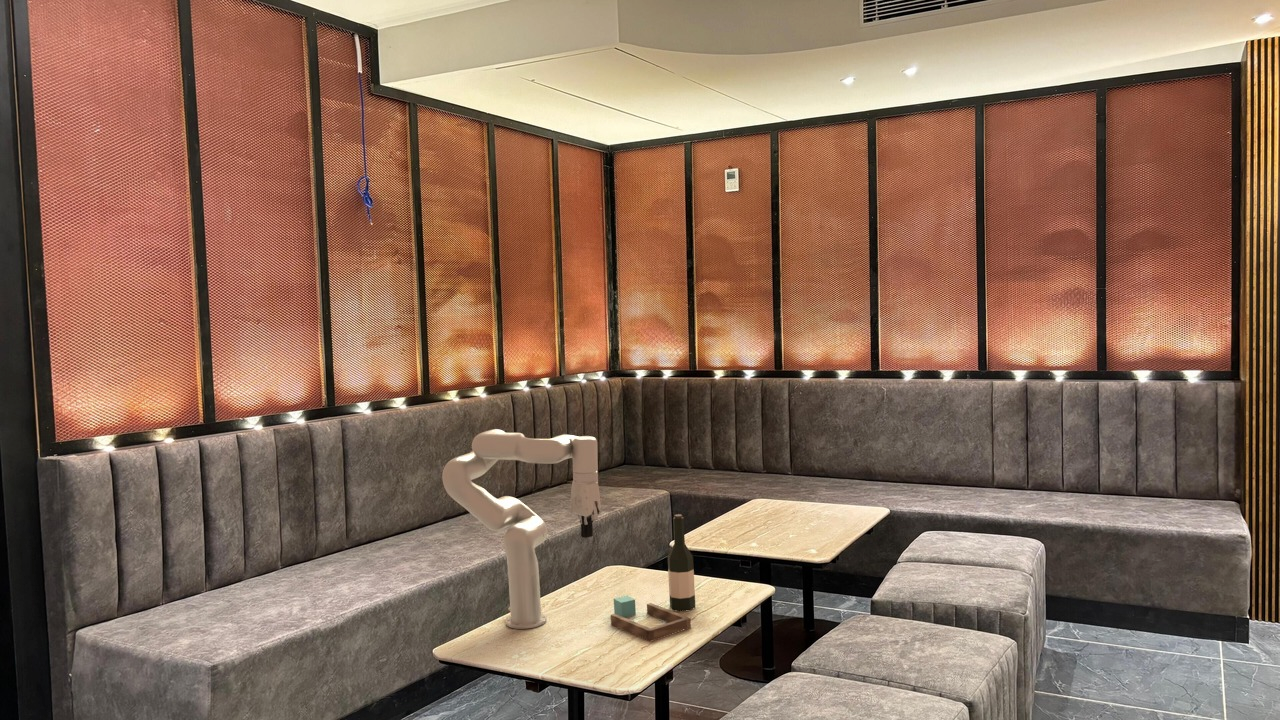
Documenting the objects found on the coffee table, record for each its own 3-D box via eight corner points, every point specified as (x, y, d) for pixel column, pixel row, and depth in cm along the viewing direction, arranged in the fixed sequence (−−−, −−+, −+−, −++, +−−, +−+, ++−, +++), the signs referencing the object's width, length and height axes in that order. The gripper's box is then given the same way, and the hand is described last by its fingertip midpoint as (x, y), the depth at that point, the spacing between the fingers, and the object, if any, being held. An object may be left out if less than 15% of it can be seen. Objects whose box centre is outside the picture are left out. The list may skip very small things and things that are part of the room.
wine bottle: (667, 611, 279) (662, 518, 277) (672, 602, 287) (668, 512, 285) (693, 611, 277) (688, 518, 275) (697, 603, 285) (693, 512, 283)
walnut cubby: (611, 624, 269) (610, 614, 269) (650, 612, 278) (650, 602, 278) (650, 641, 253) (649, 631, 253) (690, 627, 263) (690, 618, 263)
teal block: (614, 614, 279) (613, 598, 279) (628, 610, 281) (627, 595, 281) (622, 618, 274) (621, 602, 274) (635, 615, 277) (635, 599, 277)
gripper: (561, 475, 269) (563, 534, 270) (589, 482, 258) (590, 543, 259) (581, 472, 274) (583, 530, 275) (610, 478, 262) (611, 539, 263)
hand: (587, 536), depth 267 cm, fingers closed
